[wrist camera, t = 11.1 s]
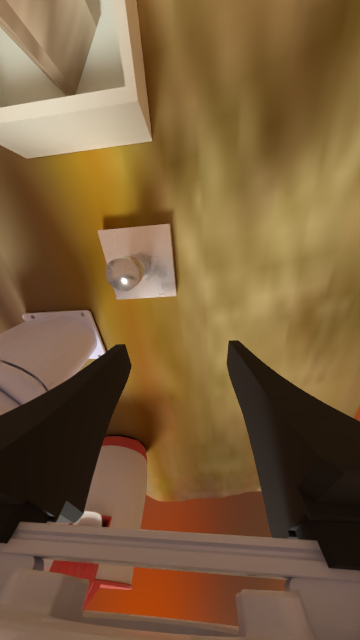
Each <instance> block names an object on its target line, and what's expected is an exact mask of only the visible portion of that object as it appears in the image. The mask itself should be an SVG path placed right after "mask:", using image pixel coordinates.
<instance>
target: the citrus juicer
mask: <svg viewBox="0 0 360 640" xmlns="http://www.w3.org/2000/svg"><path fill="white" fill-rule="evenodd" d="M146 486H147V456H146V449H145V447H144V446H143V445H142V444H141V443H140V442H139V441H138V440H133V439H130V438H127V437H121V436H107V437H105V438H104V440H103V444H102V447H101V450H100V453H99V457H98V460H97V464H96V467H95V471H94V475H93V478H92V482H91V486H90V490H89V494H88V498H87V502H86V506H85V510H84V514H83V515H82V516H81V518H80V519H79V520H78V521H77V522H75V523H59V522H56V523H52V524H63V525H79V526H95V527H110V528H126V529H140V527H141V521H142V515H143V509H144V502H145V495H146ZM43 560H44V571H46V572H54V573H62V574H65V575H68V576H73V577H77V578H83V579H88V580H89V587H88V590H87V594H86V597H85V601H84V605H83V610H85V608H86V607H87V605H88V604H89V603H90V601H91V600H92V598H93V597H94V595H95V593H96V592H97V590H98V588H99V587H100V588H112V589H128V590H131V589H132V585H131V580H132V575H133V569H134V567H130V566H118V565H106V564H94V563H82V562H70V561H58V560H46V559H43Z"/></svg>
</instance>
